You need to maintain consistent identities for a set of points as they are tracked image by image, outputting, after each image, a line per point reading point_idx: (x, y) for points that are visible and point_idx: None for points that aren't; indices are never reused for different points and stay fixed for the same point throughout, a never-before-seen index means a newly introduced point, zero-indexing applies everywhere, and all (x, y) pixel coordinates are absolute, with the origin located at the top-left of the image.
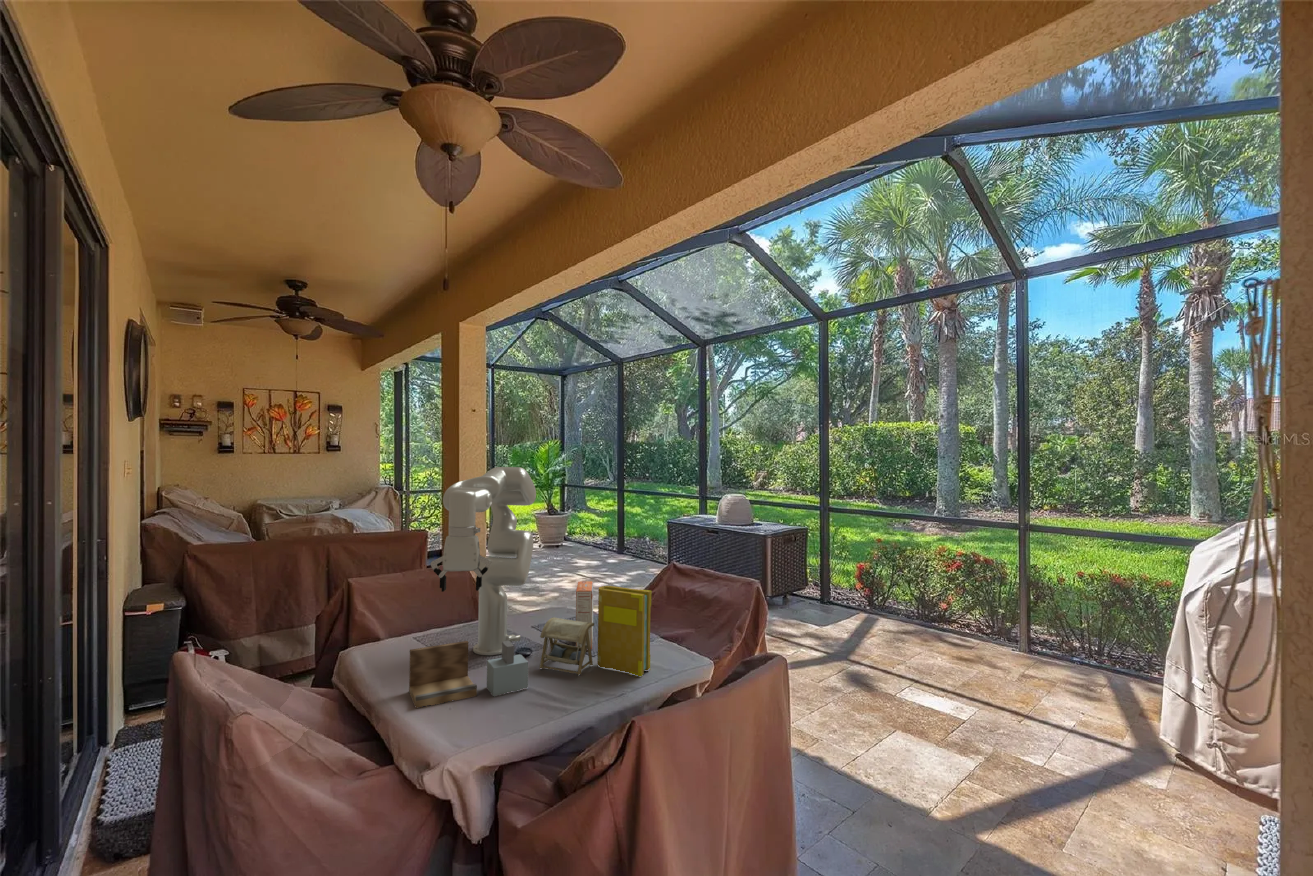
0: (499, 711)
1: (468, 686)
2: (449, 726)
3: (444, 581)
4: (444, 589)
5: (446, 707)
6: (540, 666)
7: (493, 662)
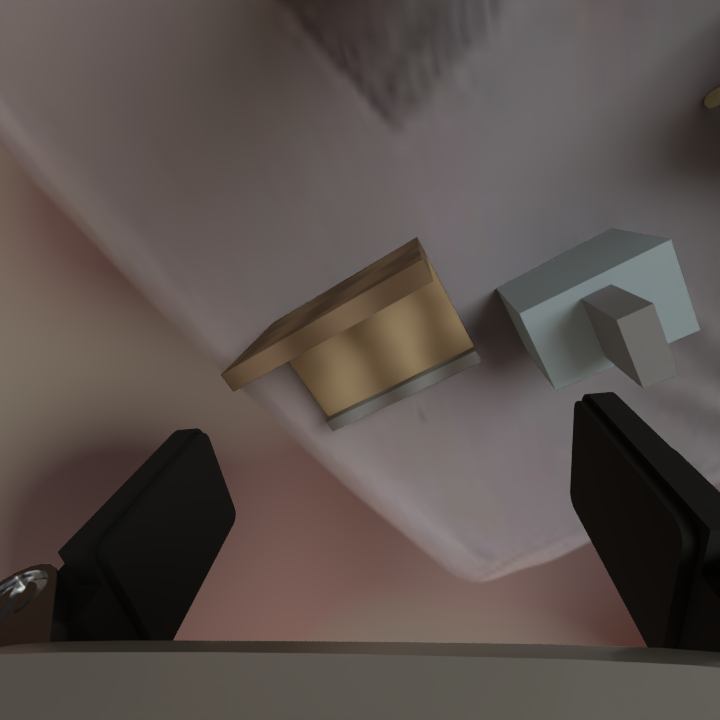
0: (554, 433)
1: (456, 369)
2: (446, 491)
3: (182, 604)
4: (225, 513)
5: (410, 410)
6: (716, 102)
7: (548, 337)
